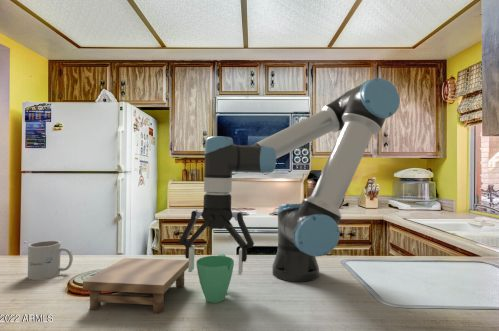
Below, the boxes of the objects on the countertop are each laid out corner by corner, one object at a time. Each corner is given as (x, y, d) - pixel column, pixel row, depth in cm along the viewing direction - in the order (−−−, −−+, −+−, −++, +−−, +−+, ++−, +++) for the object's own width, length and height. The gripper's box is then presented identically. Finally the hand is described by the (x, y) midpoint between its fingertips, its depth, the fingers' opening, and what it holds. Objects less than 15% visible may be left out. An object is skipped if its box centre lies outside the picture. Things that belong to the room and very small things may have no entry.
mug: (20, 280, 94) (21, 247, 94) (39, 270, 103) (40, 240, 103) (61, 280, 94) (62, 247, 94) (76, 270, 103) (77, 240, 103)
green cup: (230, 308, 76) (230, 267, 76) (191, 306, 77) (191, 265, 77) (238, 285, 91) (238, 251, 91) (205, 284, 92) (206, 250, 92)
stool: (188, 283, 92) (188, 260, 92) (163, 315, 72) (163, 285, 72) (124, 281, 94) (124, 257, 94) (82, 310, 74) (82, 281, 74)
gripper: (264, 194, 87) (262, 270, 86) (177, 191, 89) (175, 265, 89) (262, 196, 79) (260, 279, 79) (168, 193, 82) (166, 273, 81)
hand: (215, 272), depth 84 cm, fingers open, 13 cm apart
